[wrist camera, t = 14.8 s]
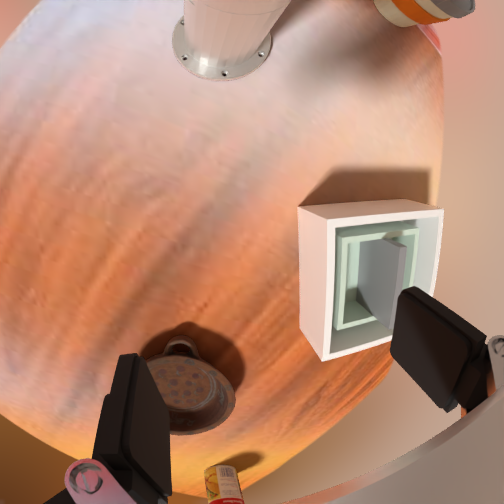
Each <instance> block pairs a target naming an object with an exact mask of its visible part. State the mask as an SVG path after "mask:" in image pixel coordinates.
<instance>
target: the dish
mask: <svg viewBox="0 0 504 504" xmlns="http://www.w3.org/2000/svg"><path fill="white" fill-rule="evenodd" d="M179 343H182V344H185V345H187V346H188V347H189V349H190V351H189V352H188V353H184V352H175V351H173V346H174V345H175V344H179ZM146 363H147V366H148V368H149V370H150V372H151V375H152V377H153V379H154V381H155V383H156V385H157V388H158V390H159V392H160V394H161V396H162V398H163V400H164V402H165V404H166V406H167V408H168V411H169V416H170V434H172V435H193V434H198V433H202V432H206V431H208V430H211V429H214V428H215V427H217V426H219V425H220V424H221V423H223V422H224V421H225V420H226V419H227V418H228V417H229V415H230V414H231V412H232V411H233V409H234V407H235V401H236V399H235V392H234V389H233V387H232V385H231V383H230V382H229V381H228V379H227V378H226V377H225V376H224V375H223V374H222V373H221V372H220V371H218V370H217V369H216V368H215V367H213V366H212V365H211V364H209V363H208V362H207V361H205V360H204V359H202V358H200V357H199V355H198V350H197V347H196V344H195V343H194V341H193V340H192V339H191V338H189V337H188V336H185V335H178V336H175V337H173V338H172V339H170V340H169V342H168V343H167V345H166V347H165V350H164V352H163V353H161V354H158V355H155V356H152V357H150V358H149V359H147V360H146Z"/></svg>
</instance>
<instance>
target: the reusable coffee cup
mask: <svg viewBox="0 0 504 504" xmlns="http://www.w3.org/2000/svg"><path fill="white" fill-rule="evenodd" d="M373 2H374V4H375V6H376V8H377V9H378V11H379V12H380V13H381V14H382V15H383V16H384V17H385V18H386V19H387V20H388V21H389V22H391V23H392V24H394V25H396V26H399V27H409V26H413V25H417V24H423V25H427V24H432V23H437V22H443V21H447V20H449V19H450V18H452V17H454V18H462V17H464V16H466V15H468V14H470V13H472V12H474V10H475V1H474V0H373Z"/></svg>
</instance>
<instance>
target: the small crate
mask: <svg viewBox="0 0 504 504" xmlns="http://www.w3.org/2000/svg"><path fill="white" fill-rule="evenodd" d="M418 240H419V228H418V227H415V226H413V225H410V224H407V223H404V222H401V221H391V222H382V223H373V224H364V225H355V226H346V227H337V228H335V273H334V297H333V314H332V325H333V326H334V327H335V329H336V330H341V329H345V328H349V327H352V326H356V325H360V324H363V323H367V322H371V321H374V320H378V321H379V322H380V323H381V324H383V325H384V326H385V327H386V328H387V329H388V330H390V329H393V328H394V322H395V315H396V308H397V299H398V296H399V295H400V293H401V291H402V290H403V289H406V288H409V287H412V286H413V282H414V275H415V267H416V259H417V250H418Z"/></svg>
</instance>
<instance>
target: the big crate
mask: <svg viewBox="0 0 504 504" xmlns="http://www.w3.org/2000/svg"><path fill="white" fill-rule="evenodd" d="M443 214H444V209H442V208H438V207H435V206H431V205H427V204H423V203H420V202H416V201H412V200H408V199H392V200H375V201H360V202H346V203H333V204H321V205H310V206H298V229H299V271H300V329H301V331H302V332H303V334H304V335H305V337H306V338H307V340H308V341H309V343H310V344H311V346H312V347H313V349H314V350H315V352H316V353H317V355H318V356H319V358H320V359H321V361H322V362H323V361H326V360H330V359H334V358H337V357H341V356H344V355H348V354H351V353H354V352H357V351H361V350H364V349H367V348H370V347H373V346H376V345H379V344H382V343H385V342H388V341H391V340H392V335H393V329H394V328H393V329H390V330H388V329H387V328H386V327H385V326H384V325H383V324H381V323H380V322H379V321H378V320H374V321H371V322H367V323H363V324H360V325H356V326H352V327H349V328H345V329H341V330H336V329H335V327H334V326H333V325H332V314H333V297H334V273H335V228H337V227H346V226H355V225H364V224H373V223H382V222H391V221H401V222H404V223H407V224H410V225H413V226H415V227H418V228H419V240H418V250H417V259H416V267H415V275H414V282H413V286H416V287H418V288H420V289H421V290H423V291H424V292H426V293H427V294H429V295H430V296H431V297H433V292H434V288H435V282H436V275H437V270H438V263H439V255H440V247H441V238H442V227H443Z"/></svg>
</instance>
